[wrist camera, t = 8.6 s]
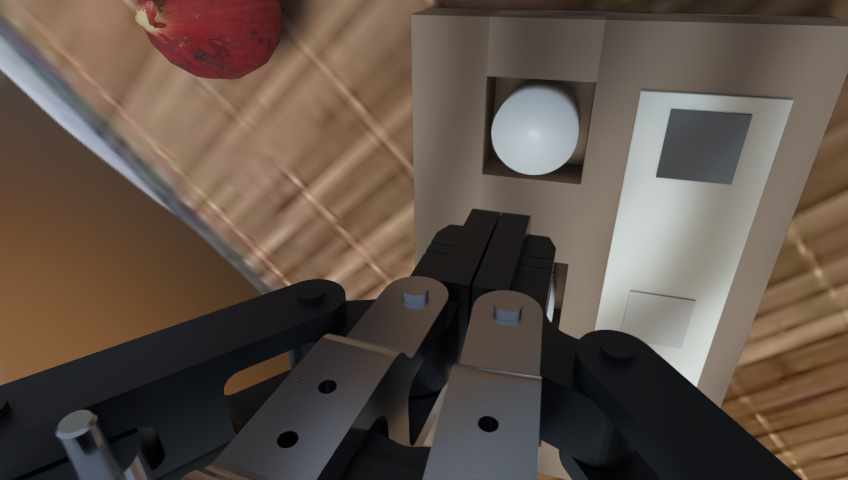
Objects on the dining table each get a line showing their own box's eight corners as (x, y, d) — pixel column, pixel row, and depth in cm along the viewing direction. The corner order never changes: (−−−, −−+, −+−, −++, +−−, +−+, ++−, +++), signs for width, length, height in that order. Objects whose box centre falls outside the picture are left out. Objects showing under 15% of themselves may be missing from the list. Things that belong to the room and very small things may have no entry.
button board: (832, 16, 20) (869, 28, 17) (676, 465, 33) (682, 513, 30) (431, 7, 24) (408, 15, 21) (431, 409, 37) (417, 446, 34)
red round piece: (332, 34, 26) (238, 65, 19) (250, 80, 29) (142, 121, 22) (271, -88, 24) (144, -100, 17) (189, -28, 27) (51, -18, 20)
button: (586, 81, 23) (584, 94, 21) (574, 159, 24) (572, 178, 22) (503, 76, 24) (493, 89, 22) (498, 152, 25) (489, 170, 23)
